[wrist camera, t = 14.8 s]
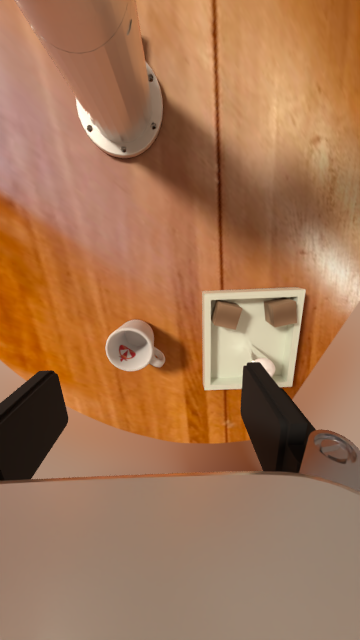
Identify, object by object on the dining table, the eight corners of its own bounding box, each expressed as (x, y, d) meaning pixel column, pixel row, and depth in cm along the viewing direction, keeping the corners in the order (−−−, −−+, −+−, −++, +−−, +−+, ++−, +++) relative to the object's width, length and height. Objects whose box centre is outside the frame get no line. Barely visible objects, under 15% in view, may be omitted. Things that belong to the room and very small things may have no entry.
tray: (202, 291, 39) (204, 293, 36) (296, 287, 39) (305, 289, 36) (202, 381, 45) (204, 390, 42) (284, 378, 45) (292, 386, 42)
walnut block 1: (216, 299, 39) (220, 303, 35) (236, 303, 40) (242, 308, 36) (210, 318, 40) (214, 325, 37) (230, 322, 41) (235, 329, 37)
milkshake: (229, 359, 43) (244, 388, 33) (240, 336, 42) (259, 360, 32) (249, 365, 43) (269, 396, 34) (260, 343, 42) (285, 369, 32)
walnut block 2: (263, 301, 39) (272, 306, 36) (284, 296, 39) (296, 301, 35) (265, 320, 41) (274, 327, 37) (285, 316, 40) (297, 322, 37)
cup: (176, 337, 42) (176, 355, 34) (154, 365, 44) (149, 388, 36) (131, 306, 40) (121, 318, 32) (110, 337, 42) (96, 355, 34)
